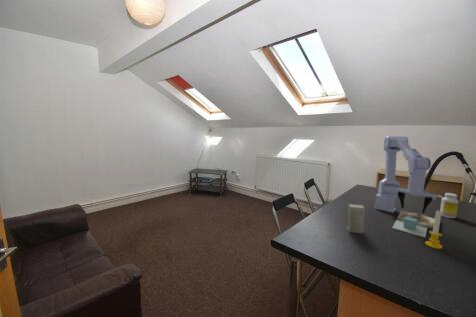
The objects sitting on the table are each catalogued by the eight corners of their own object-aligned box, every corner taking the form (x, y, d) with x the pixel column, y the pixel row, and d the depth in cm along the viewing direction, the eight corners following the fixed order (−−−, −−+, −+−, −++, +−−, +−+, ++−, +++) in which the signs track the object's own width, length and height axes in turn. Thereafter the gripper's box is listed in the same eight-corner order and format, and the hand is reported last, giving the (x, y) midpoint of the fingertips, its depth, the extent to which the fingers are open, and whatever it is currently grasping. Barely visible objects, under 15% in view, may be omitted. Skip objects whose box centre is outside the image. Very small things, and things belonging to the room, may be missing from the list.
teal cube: (404, 224, 103) (405, 216, 102) (416, 227, 100) (417, 219, 99) (403, 227, 100) (404, 218, 99) (415, 230, 96) (416, 221, 96)
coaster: (392, 228, 100) (392, 227, 100) (396, 221, 108) (396, 220, 108) (425, 237, 91) (425, 236, 91) (427, 229, 100) (427, 227, 99)
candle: (424, 240, 89) (429, 206, 87) (441, 245, 86) (447, 209, 83) (425, 245, 85) (430, 209, 83) (443, 250, 82) (449, 213, 79)
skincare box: (361, 229, 98) (363, 205, 96) (363, 234, 94) (366, 208, 92) (346, 227, 100) (348, 203, 98) (347, 231, 96) (350, 206, 94)
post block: (396, 220, 109) (398, 211, 109) (401, 212, 119) (402, 205, 119) (438, 230, 98) (440, 221, 98) (439, 221, 108) (440, 213, 107)
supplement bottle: (459, 219, 112) (463, 196, 110) (445, 218, 113) (448, 195, 111) (449, 214, 118) (453, 192, 116) (436, 213, 119) (439, 191, 118)
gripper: (395, 181, 99) (392, 207, 101) (437, 187, 89) (432, 217, 91) (398, 178, 104) (395, 204, 106) (437, 184, 94) (433, 212, 96)
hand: (412, 210), depth 99 cm, fingers open, 7 cm apart
